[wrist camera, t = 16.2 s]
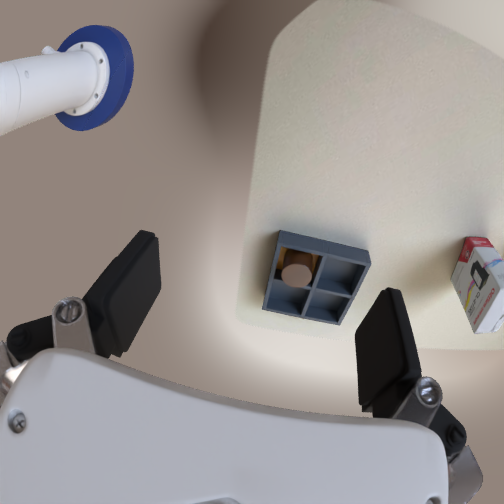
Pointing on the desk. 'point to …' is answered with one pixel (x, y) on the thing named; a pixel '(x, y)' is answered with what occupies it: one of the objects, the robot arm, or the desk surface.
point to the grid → (317, 279)
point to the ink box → (480, 284)
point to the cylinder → (297, 268)
